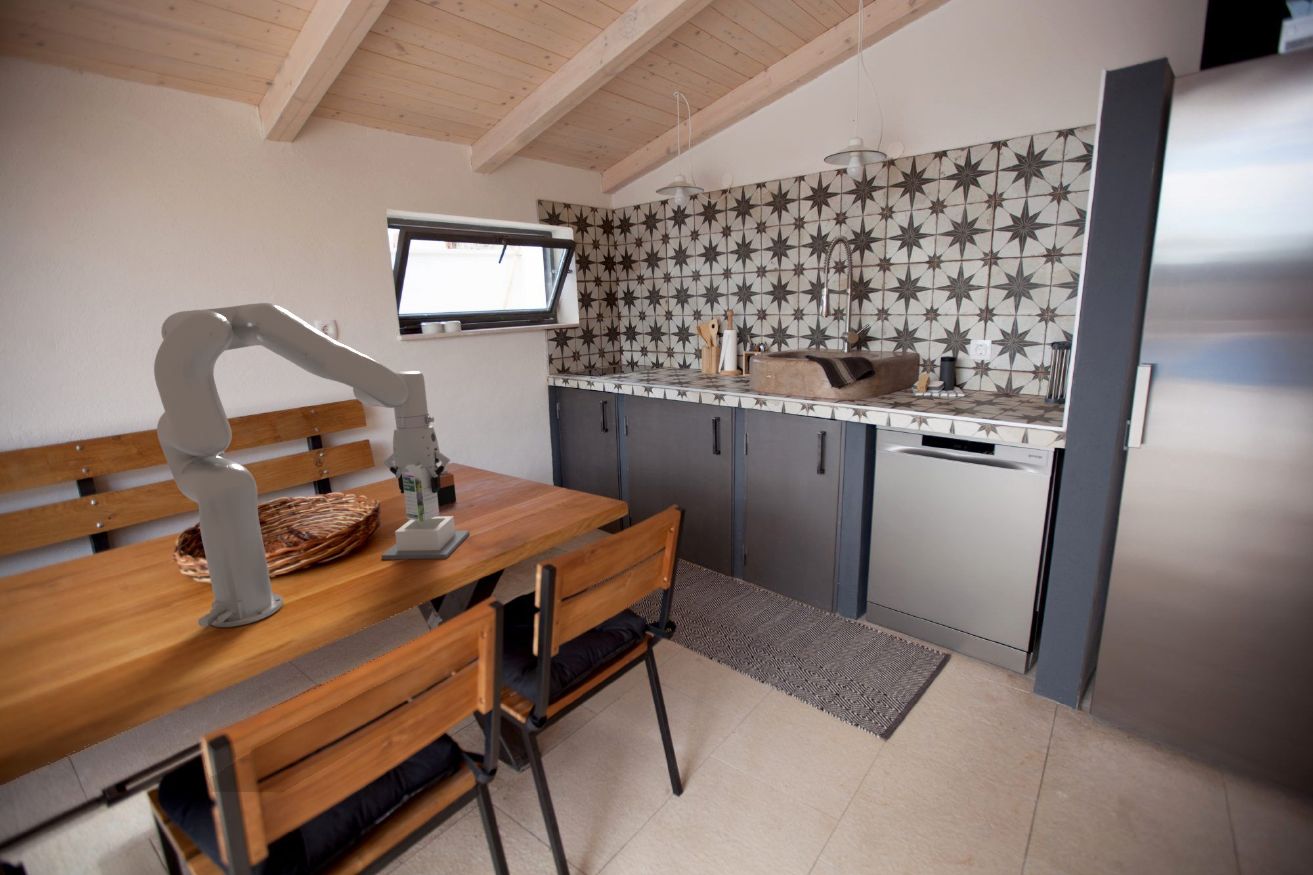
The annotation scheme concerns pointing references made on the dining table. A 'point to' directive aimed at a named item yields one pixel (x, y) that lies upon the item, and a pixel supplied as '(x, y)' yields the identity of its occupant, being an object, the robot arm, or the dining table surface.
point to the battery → (446, 489)
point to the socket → (426, 539)
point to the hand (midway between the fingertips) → (420, 491)
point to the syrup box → (419, 493)
